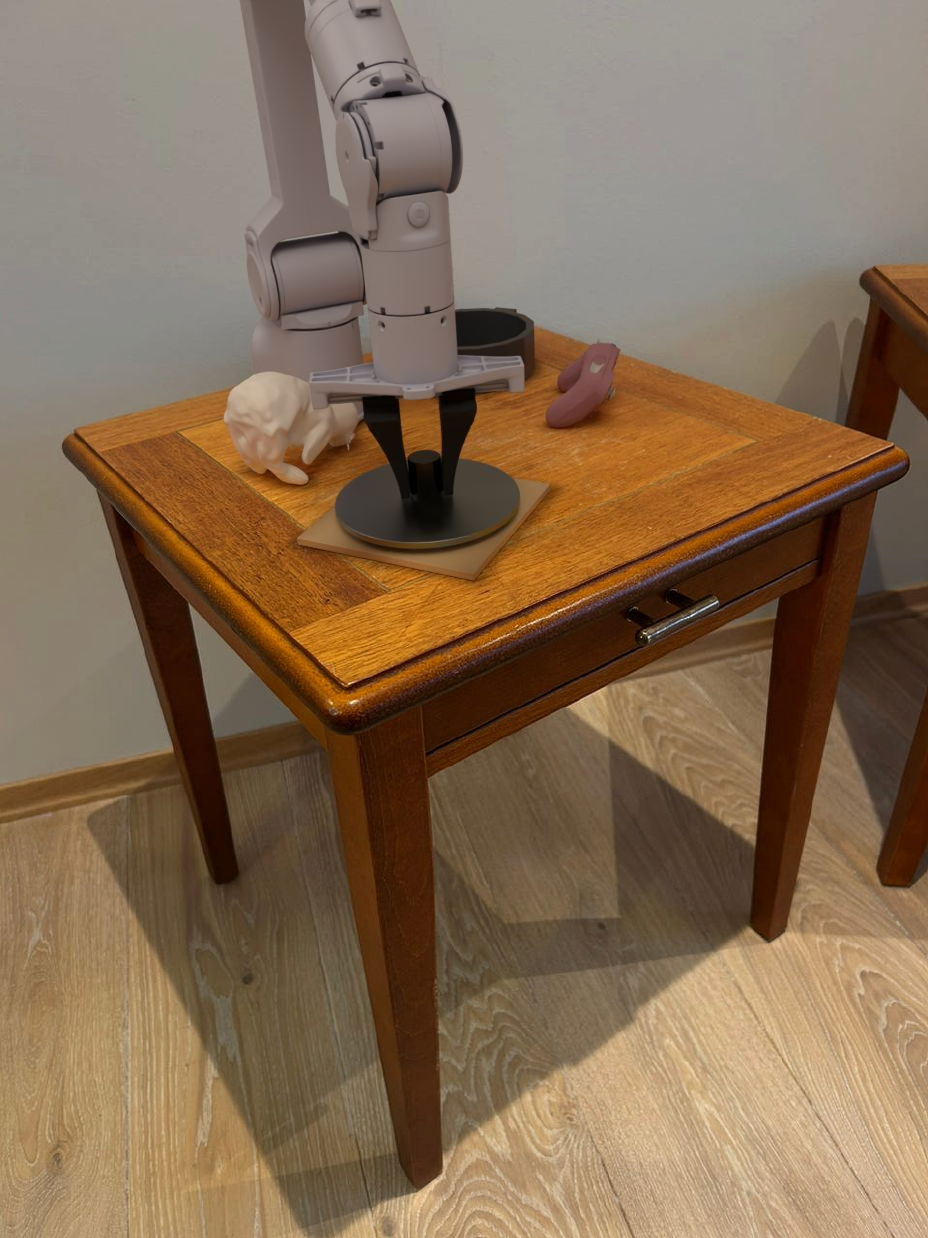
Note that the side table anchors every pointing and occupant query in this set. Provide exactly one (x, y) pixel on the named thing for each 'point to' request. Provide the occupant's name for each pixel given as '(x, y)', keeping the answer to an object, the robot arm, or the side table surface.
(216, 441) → the side table surface
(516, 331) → the pan
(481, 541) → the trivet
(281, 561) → the side table surface
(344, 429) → the crouching animal figurine
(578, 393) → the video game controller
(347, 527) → the lid
